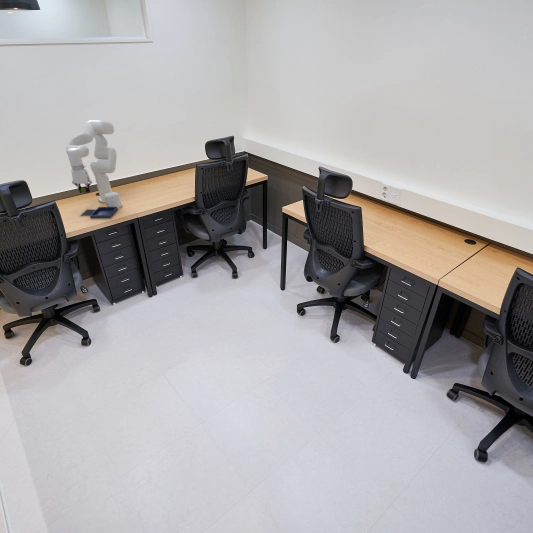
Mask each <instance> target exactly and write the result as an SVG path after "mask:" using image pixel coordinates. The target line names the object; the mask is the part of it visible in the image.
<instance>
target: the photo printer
mask: <svg viewBox="0 0 533 533" xmlns="http://www.w3.org/2000/svg"><path fill="white" fill-rule="evenodd" d="M105 200H106V202H105V203H106V207H117V208H118V209H119V208H122V201H121V198H120V194H119V192H118V191H113V192H110V193H107V194H105Z"/></svg>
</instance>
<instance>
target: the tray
mask: <svg viewBox="0 0 533 533" xmlns="http://www.w3.org/2000/svg"><path fill="white" fill-rule="evenodd" d="M118 209H119V208H117V207H107V206H98V207H96V208H95V209H94V210H95V211H94V212H93V213H92V214H91V215H90V216H89V218H90V219H111V218H112V217H113V216H114V215H115V214H116V212H117V211H118Z"/></svg>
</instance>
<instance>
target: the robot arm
mask: <svg viewBox="0 0 533 533" xmlns="http://www.w3.org/2000/svg"><path fill="white" fill-rule="evenodd" d="M114 132H115V127H114V125H113V123H111V122H109V121H104V120H87V121H85V123H84V125H83V127H82V128H81V131H80V133H79V134H77V135H75V136H74V137H72V138H71V139H70V140H69V141H68V142H67V145H66V148H65V152H66V154H67V157H68V160H69V163H70V164H69V165H70V167H71V178H72V182H71V184H72V185H75V187H76V188H77V189H78V191H79V193H80V194H82V193H83V192H81V187H82V185H83V184H84V186H86V191H87V192H86V194H89V193H90V192H91V189H90V186H91V185H92V184H93V183H94V182H93V181H92V180H91V178H90V175H89V172H88V171H87V169H86V165H84V163H83V158H86V157H88V156H89V154H90V149H89V147H87V144H89V143H92V142H93V141H94V142H95V143H94V153H93V154H94V155H93V156H94V158H95V160H92V161H91V162H90V164H89V167H90V170H91V172H92V173H93V176H94V179H95V183H96V187H97V190H98V194H99V198H98V202H100V203H106V200H105V194H107V193H110V192H114V191H113V190H112V186H111V182H110V178H109V176H108V175H107V174H113V173H115V171H116V165H117V155H118V154H117V151H116V149H115V148H114V147H112V146H108V139H107V138H106V137H105V135H112V134H114Z"/></svg>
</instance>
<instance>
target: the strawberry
mask: <svg viewBox="0 0 533 533" xmlns="http://www.w3.org/2000/svg"><path fill="white" fill-rule="evenodd" d="M81 192H82V193H83V194H87V191H86V186H85V185H84V186H81Z"/></svg>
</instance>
